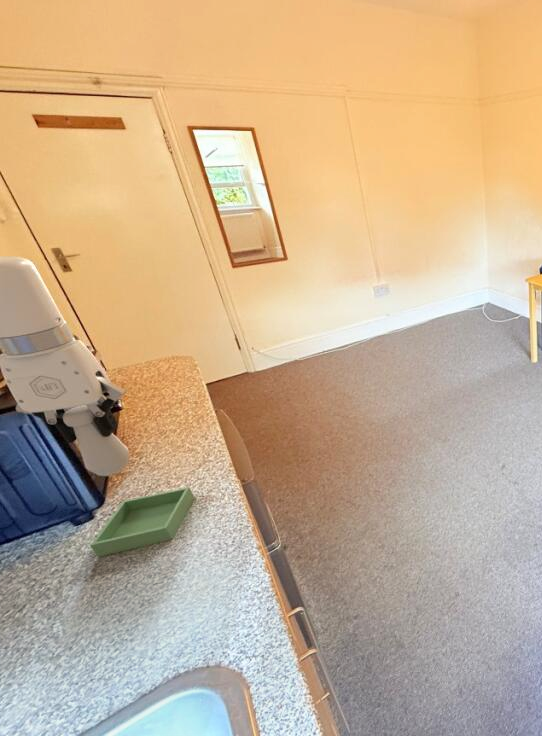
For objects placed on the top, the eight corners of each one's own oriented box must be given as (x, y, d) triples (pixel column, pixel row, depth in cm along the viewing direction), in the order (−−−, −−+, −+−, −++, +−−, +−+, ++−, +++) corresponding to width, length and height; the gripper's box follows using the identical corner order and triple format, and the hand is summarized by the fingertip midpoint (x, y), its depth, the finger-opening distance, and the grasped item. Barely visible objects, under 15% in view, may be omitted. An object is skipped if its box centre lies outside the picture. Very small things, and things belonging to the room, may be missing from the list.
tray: (97, 557, 73) (89, 545, 72) (129, 511, 83) (123, 500, 81) (172, 539, 76) (166, 528, 75) (194, 497, 86) (189, 486, 84)
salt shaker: (102, 462, 74) (66, 403, 68) (140, 454, 75) (108, 396, 70) (84, 483, 69) (44, 422, 63) (125, 474, 70) (89, 414, 65)
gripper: (-59, 358, 55) (15, 459, 63) (89, 341, 60) (140, 437, 68) (-14, 338, 62) (48, 432, 70) (116, 324, 66) (161, 414, 74)
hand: (93, 434), depth 69 cm, fingers closed on salt shaker, 4 cm apart
